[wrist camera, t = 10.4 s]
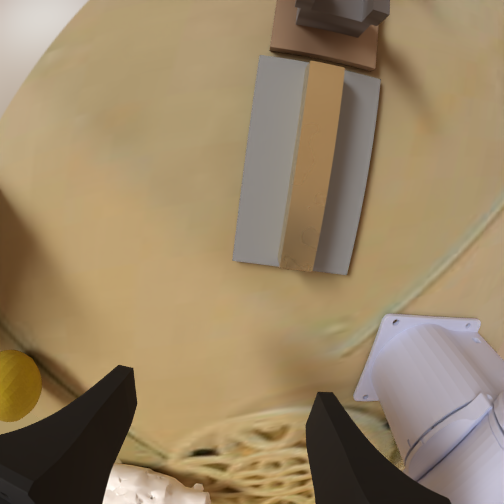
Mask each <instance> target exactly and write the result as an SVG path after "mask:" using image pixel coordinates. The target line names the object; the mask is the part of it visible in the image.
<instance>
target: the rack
mask: <svg viewBox="0 0 504 504" xmlns="http://www.w3.org/2000/svg"><path fill="white" fill-rule="evenodd" d="M389 12H390V0H277V3H276V10H275V17H274V24H273V30H272V37H271V44H270V51H275V52H282V53H288V54H295V55H300V56H306V57H311V58H317V59H322V60H326V61H331V62H335V63H340V64H344V65H348V66H352V67H356V68H360V69H364V70H368V71H372V70H374V69H375V66H376V55H377V41H378V25H379V24H380V23H381V22H382V21H383V20H384V19H385V18H386V17H387V16H389Z"/></svg>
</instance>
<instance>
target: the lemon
mask: <svg viewBox="0 0 504 504" xmlns="http://www.w3.org/2000/svg"><path fill="white" fill-rule="evenodd" d="M41 390H42V379H41V375H40V372H39V369H38V367H37V366H36V364H35V363H34V360H33V359H32V358H31V357H29V356H27V355H26V354H24V353H22V352H20V351H17V350H4V351H1V352H0V420H1V421H5V422H14V421H18V420H20V419H21V418H23V417H24V416H26V415H27V414H28V413H29V412H30V411H31V410H32V409H33V408H34V407H35V405H36V404H37V402H38V399H39V397H40V394H41Z"/></svg>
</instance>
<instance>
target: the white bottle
mask: <svg viewBox="0 0 504 504" xmlns="http://www.w3.org/2000/svg"><path fill="white" fill-rule="evenodd" d="M203 490H204V488H203V485H202V484H197V483H196V484H195V485H194V486H193V487H192V488H190V487H185V486H184V485H183V484H182V483H181V482H179V481H178V480H177V479H176V478H173V477H171V476H168V475H165V474H161V473H158V472H155V471H153V470H151V469H149V468H143V467H139V466H134V465H127V464H120V463H114V465H113V468H112V470H111V473H110V476H109V480H108V483H107V487H106V491H105V495H104V499H103V503H102V504H211V500H210V494H209V492H203Z"/></svg>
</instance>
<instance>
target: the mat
mask: <svg viewBox="0 0 504 504" xmlns="http://www.w3.org/2000/svg"><path fill="white" fill-rule="evenodd" d="M308 63H309V62H303V61H298V60H292V59H285V58H279V57H272V56H264V55H260V56H259V63H258V70H257V77H256V84H255V91H254V98H253V105H252V112H251V120H250V127H249V134H248V142H247V149H246V157H245V164H244V172H243V180H242V187H241V195H240V203H239V211H238V219H237V227H236V235H235V244H234V252H233V260H232V261H239V262H247V263H255V264H262V265H270V266H278V267H279V262H278V251H279V245H280V239H281V233H282V227H283V220H284V214H285V208H286V201H287V195H288V188H289V182H290V175H291V168H292V162H293V155H294V148H295V141H296V134H297V127H298V120H299V112H300V105H301V98H302V90H303V83H304V75H305V68H306V66H307V65H308ZM380 82H381V79H377V78H373V77H370V76H366V75H362V74H359V73H355V72H351V71H346V70H345V73H344V82H343V90H342V98H341V106H340V114H339V121H338V128H337V135H336V142H335V149H334V156H333V162H332V168H331V174H330V181H329V187H328V192H327V198H326V204H325V209H324V215H323V220H322V226H321V231H320V236H319V241H318V247H317V252H316V257H315V261H314V266H313V271H318V272H326V273H334V274H342V275H347V272H348V268H349V264H350V260H351V255H352V251H353V247H354V242H355V238H356V233H357V228H358V223H359V219H360V214H361V209H362V204H363V198H364V193H365V188H366V182H367V176H368V171H369V165H370V158H371V152H372V146H373V139H374V132H375V125H376V117H377V109H378V100H379V91H380Z"/></svg>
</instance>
